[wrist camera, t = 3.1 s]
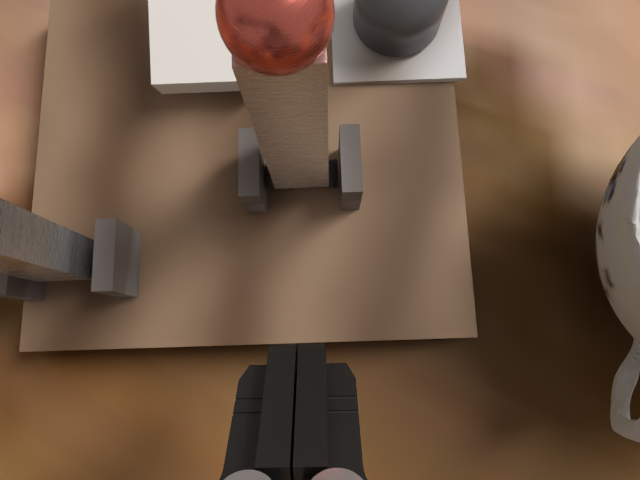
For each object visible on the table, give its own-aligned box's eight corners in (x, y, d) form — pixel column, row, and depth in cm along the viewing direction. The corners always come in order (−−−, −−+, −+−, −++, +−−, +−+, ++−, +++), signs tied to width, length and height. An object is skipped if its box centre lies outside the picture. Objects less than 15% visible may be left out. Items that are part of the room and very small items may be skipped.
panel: (45, 351, 23) (-25, 352, 18) (72, 10, 26) (19, -58, 22) (476, 337, 23) (512, 335, 18) (444, -5, 26) (467, -77, 22)
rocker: (162, 94, 23) (151, 84, 21) (156, -49, 22) (145, -68, 21) (259, 90, 22) (255, 80, 21) (254, -54, 22) (250, -73, 21)
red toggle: (269, 209, 22) (190, 34, 10) (268, 152, 22) (192, -83, 10) (338, 206, 22) (348, 27, 9) (336, 150, 22) (343, -89, 10)
